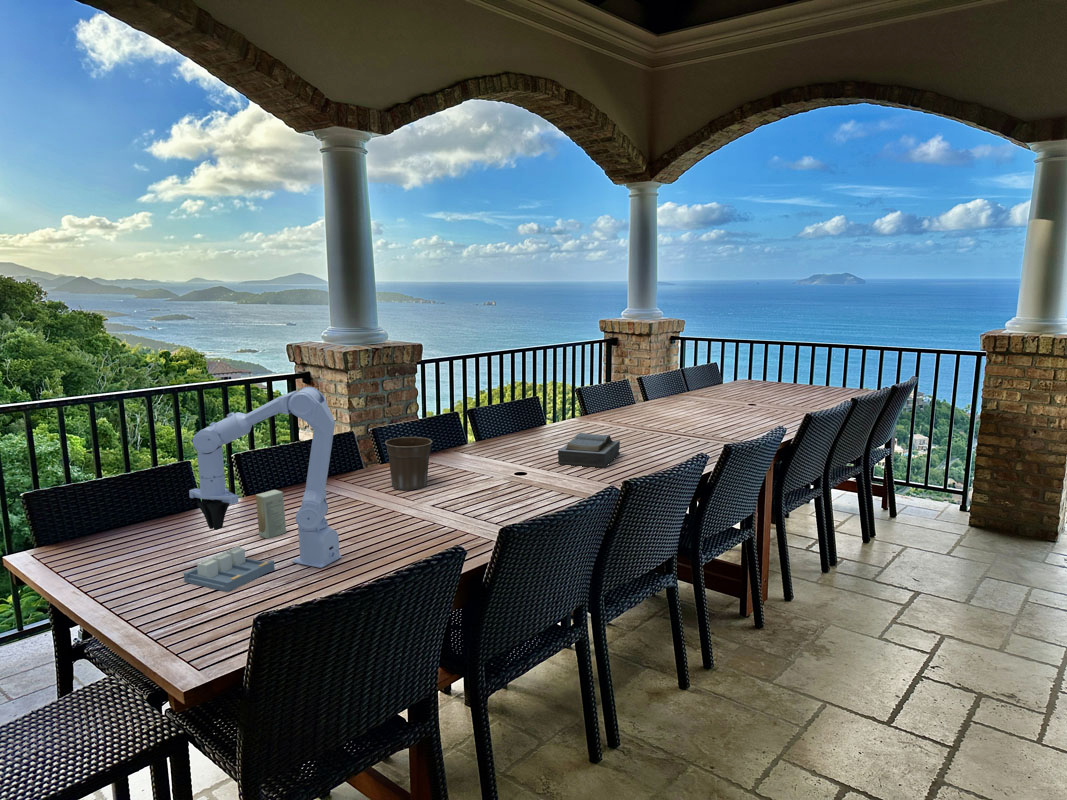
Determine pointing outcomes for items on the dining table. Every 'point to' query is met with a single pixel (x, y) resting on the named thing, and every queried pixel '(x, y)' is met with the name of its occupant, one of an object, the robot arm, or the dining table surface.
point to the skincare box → (271, 513)
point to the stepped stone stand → (589, 451)
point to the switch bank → (231, 575)
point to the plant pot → (409, 462)
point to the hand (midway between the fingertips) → (216, 528)
